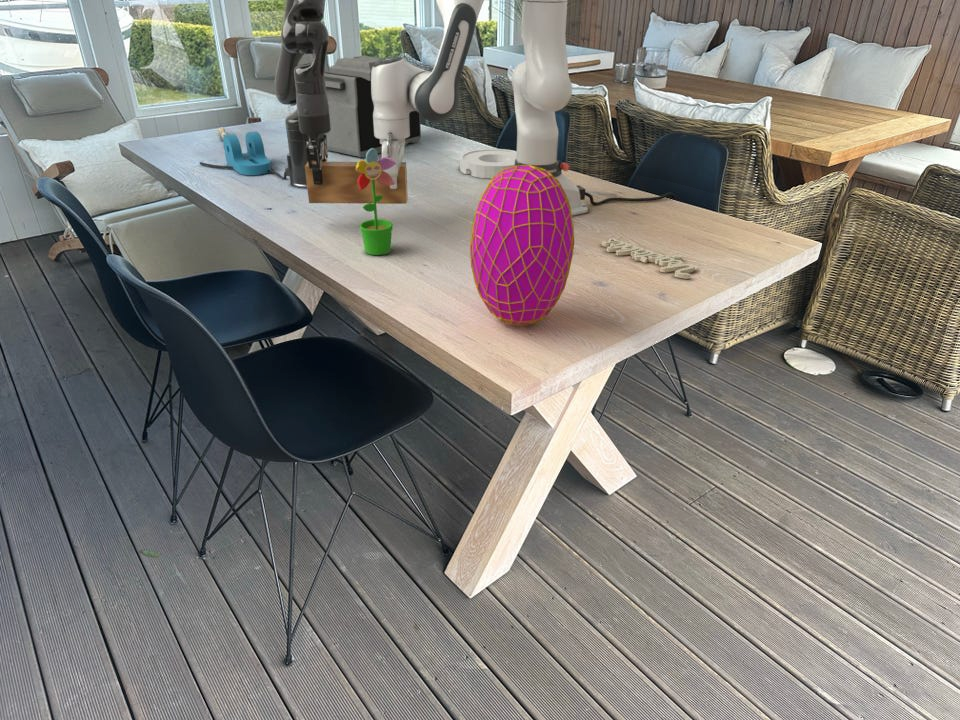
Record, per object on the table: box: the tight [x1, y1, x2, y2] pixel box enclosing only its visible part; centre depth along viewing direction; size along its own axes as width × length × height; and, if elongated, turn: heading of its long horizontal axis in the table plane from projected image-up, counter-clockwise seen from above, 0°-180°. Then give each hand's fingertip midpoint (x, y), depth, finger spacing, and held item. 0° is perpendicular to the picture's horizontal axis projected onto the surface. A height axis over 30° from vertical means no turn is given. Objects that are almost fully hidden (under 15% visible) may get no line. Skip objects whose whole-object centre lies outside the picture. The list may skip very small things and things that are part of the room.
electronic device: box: [325, 55, 422, 159], centre depth 250 cm, size 37×22×30 cm, turn 144°
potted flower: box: [356, 148, 396, 256], centre depth 160 cm, size 9×8×25 cm
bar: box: [305, 161, 409, 205], centre depth 175 cm, size 25×4×10 cm, turn 91°
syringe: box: [218, 127, 229, 142], centre depth 264 cm, size 25×4×3 cm, turn 21°
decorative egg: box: [469, 165, 576, 326], centre depth 128 cm, size 19×19×30 cm
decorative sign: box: [601, 237, 696, 280], centre depth 164 cm, size 26×1×10 cm
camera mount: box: [222, 131, 272, 176], centre depth 226 cm, size 18×10×10 cm, turn 35°
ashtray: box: [459, 148, 517, 180], centre depth 231 cm, size 23×23×4 cm
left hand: (320, 180), depth 175 cm, fingers open, 5 cm apart
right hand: (394, 184), depth 176 cm, fingers closed on bar, 4 cm apart
